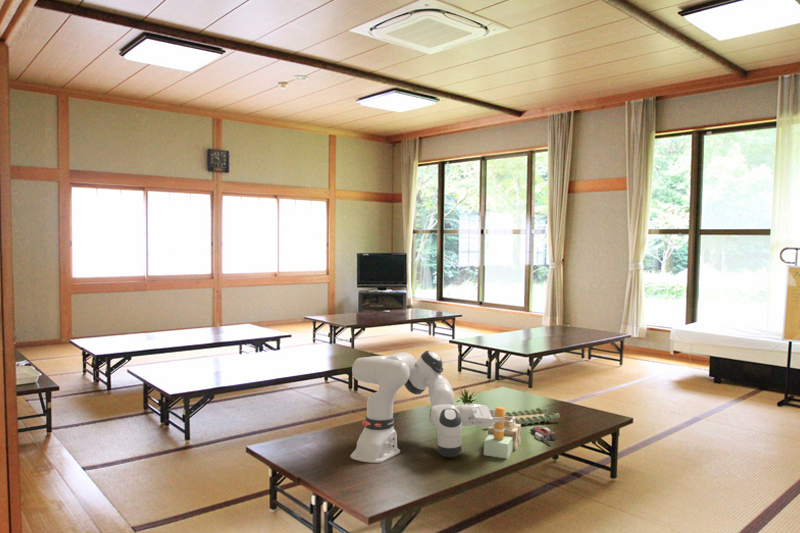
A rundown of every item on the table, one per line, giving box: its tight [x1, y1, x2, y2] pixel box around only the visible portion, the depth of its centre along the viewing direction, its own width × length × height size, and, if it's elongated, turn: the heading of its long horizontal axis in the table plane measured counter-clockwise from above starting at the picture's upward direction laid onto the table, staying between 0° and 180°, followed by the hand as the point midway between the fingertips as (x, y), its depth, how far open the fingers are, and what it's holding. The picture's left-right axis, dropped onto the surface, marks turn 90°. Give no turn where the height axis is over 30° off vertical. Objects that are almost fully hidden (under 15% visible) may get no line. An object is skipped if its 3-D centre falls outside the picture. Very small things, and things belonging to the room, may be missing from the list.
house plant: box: [453, 387, 480, 405], centre depth 286 cm, size 14×14×16 cm
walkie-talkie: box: [529, 425, 557, 445], centre depth 257 cm, size 9×4×20 cm
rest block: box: [483, 434, 514, 460], centre depth 237 cm, size 10×10×6 cm
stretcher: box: [491, 407, 561, 426], centre depth 282 cm, size 41×14×5 cm, turn 109°
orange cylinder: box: [494, 406, 506, 440], centre depth 237 cm, size 4×4×13 cm
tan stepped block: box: [487, 416, 522, 451], centre depth 248 cm, size 12×12×12 cm
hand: (501, 416), depth 237 cm, fingers open, 8 cm apart
